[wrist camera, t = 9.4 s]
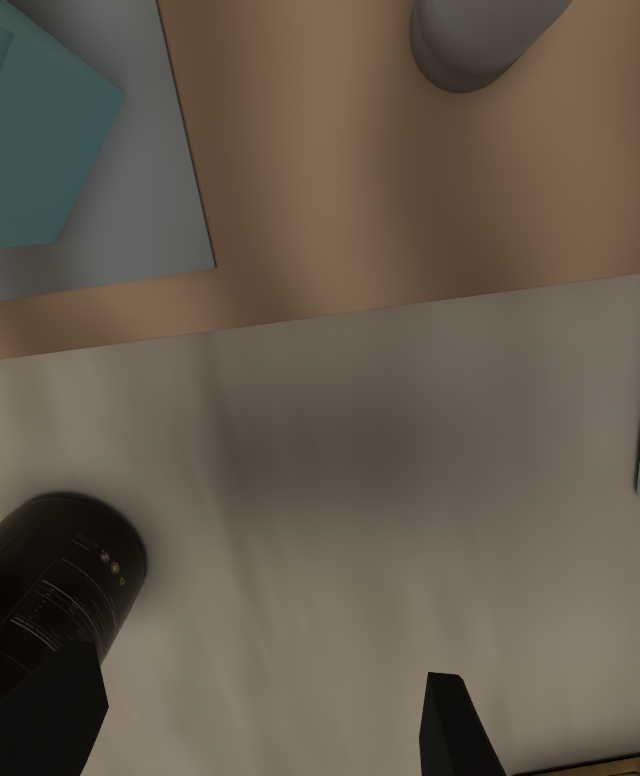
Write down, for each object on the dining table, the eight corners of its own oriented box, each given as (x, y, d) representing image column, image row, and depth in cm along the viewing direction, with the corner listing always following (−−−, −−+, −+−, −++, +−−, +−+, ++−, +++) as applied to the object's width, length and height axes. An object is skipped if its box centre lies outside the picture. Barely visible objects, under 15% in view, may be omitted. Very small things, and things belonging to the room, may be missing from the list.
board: (846, -423, 10) (1302, -1024, 5) (739, 250, 14) (923, 265, 10) (-289, -80, 13) (-633, -239, 9) (-81, 363, 18) (-232, 412, 14)
